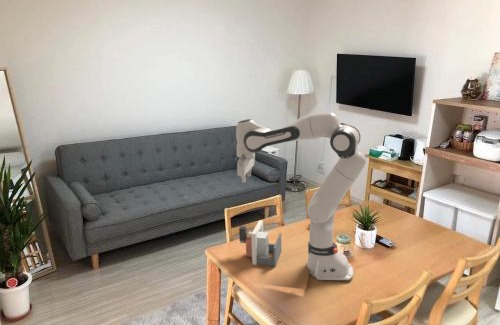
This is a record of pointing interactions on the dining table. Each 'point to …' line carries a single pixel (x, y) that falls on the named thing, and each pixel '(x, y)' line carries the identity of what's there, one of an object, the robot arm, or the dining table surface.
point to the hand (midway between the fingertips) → (246, 179)
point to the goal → (272, 247)
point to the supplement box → (262, 244)
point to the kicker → (246, 239)
